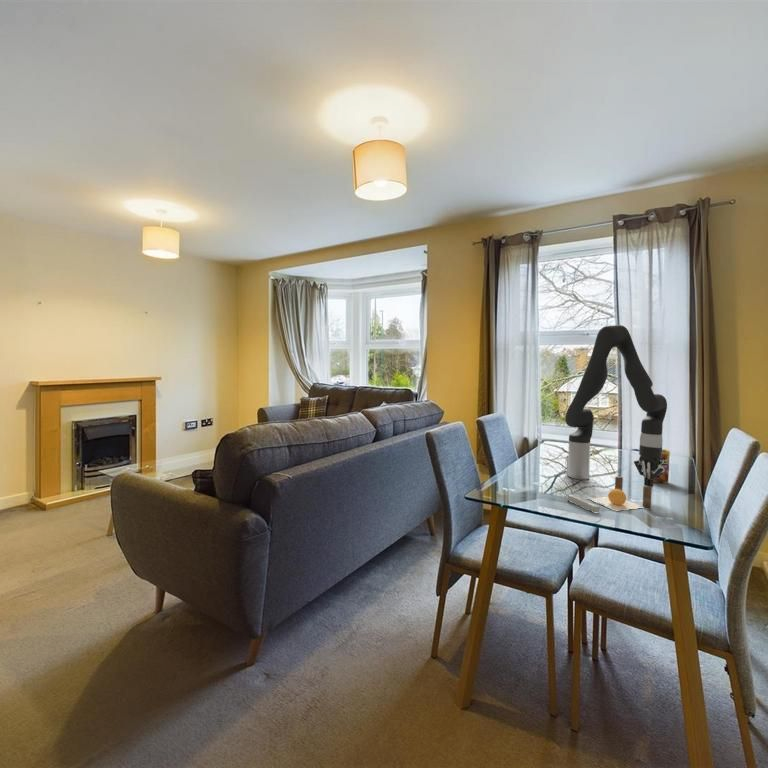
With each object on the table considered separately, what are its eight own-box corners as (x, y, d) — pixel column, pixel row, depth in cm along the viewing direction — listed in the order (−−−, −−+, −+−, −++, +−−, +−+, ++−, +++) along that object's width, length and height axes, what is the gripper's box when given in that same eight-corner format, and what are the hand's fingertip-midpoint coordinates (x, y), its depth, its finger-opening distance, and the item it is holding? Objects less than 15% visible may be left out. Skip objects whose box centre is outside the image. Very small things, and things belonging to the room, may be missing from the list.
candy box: (645, 481, 189) (646, 448, 189) (644, 479, 193) (645, 447, 192) (668, 484, 185) (669, 450, 184) (667, 481, 189) (668, 449, 188)
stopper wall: (567, 501, 161) (567, 494, 161) (571, 500, 162) (572, 494, 162) (594, 513, 148) (594, 506, 148) (599, 513, 148) (599, 506, 148)
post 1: (613, 495, 168) (613, 476, 168) (618, 495, 169) (619, 476, 168) (618, 497, 165) (619, 478, 165) (623, 497, 166) (624, 477, 166)
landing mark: (586, 499, 163) (586, 498, 163) (615, 496, 167) (615, 496, 167) (615, 511, 150) (615, 510, 150) (645, 508, 154) (645, 507, 154)
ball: (602, 500, 160) (607, 485, 159) (615, 503, 161) (620, 488, 161) (613, 505, 154) (618, 490, 154) (627, 509, 155) (631, 493, 155)
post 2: (640, 506, 155) (641, 485, 155) (646, 506, 156) (647, 485, 156) (646, 509, 153) (647, 487, 152) (652, 508, 153) (653, 487, 153)
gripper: (629, 441, 167) (626, 483, 168) (658, 448, 155) (656, 493, 156) (643, 440, 169) (641, 481, 170) (674, 447, 157) (671, 492, 158)
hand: (648, 487), depth 163 cm, fingers closed
